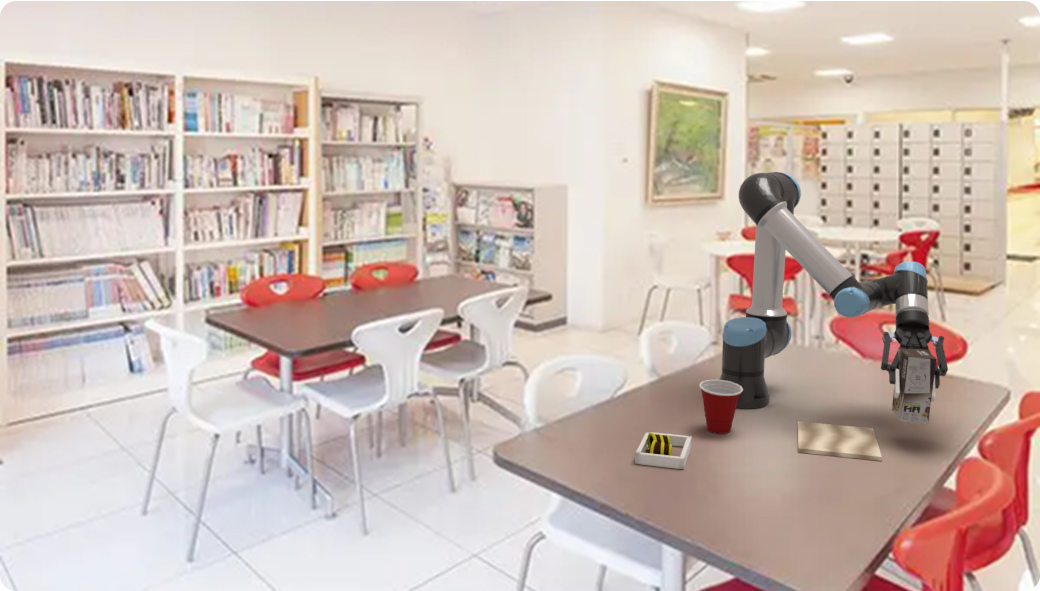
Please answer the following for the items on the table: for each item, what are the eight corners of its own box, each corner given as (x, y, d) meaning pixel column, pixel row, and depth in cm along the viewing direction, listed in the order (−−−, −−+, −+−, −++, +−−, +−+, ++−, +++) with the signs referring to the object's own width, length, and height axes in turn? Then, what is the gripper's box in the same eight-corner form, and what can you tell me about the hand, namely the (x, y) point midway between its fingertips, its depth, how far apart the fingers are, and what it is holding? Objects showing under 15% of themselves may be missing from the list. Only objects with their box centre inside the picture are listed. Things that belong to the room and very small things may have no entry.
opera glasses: (673, 465, 176) (673, 444, 175) (649, 464, 176) (650, 444, 176) (668, 449, 185) (669, 429, 185) (646, 449, 186) (647, 429, 185)
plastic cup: (717, 440, 191) (719, 393, 188) (689, 427, 200) (690, 383, 198) (750, 433, 196) (752, 387, 193) (721, 420, 205) (722, 377, 203)
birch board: (798, 452, 182) (798, 448, 182) (797, 425, 201) (797, 421, 201) (881, 461, 177) (881, 456, 176) (872, 432, 195) (873, 428, 195)
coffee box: (929, 424, 182) (937, 358, 179) (900, 422, 183) (907, 356, 180) (918, 411, 191) (926, 348, 187) (890, 409, 192) (897, 346, 189)
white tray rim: (635, 463, 177) (635, 453, 176) (646, 441, 191) (646, 431, 190) (683, 469, 173) (683, 458, 173) (691, 446, 187) (691, 436, 187)
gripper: (952, 327, 194) (958, 409, 182) (867, 321, 201) (867, 399, 189) (959, 311, 188) (965, 394, 176) (871, 305, 195) (871, 385, 183)
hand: (914, 397), depth 182 cm, fingers closed on coffee box, 7 cm apart
